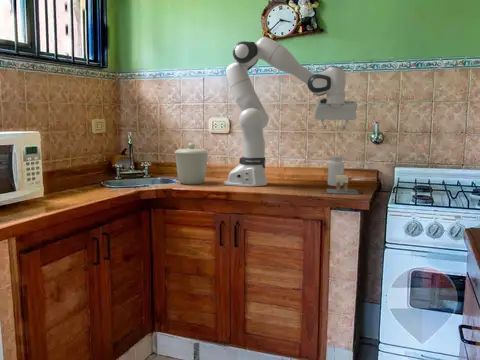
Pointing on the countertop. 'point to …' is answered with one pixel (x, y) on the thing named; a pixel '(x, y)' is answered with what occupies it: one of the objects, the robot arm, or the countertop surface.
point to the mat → (342, 191)
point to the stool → (341, 180)
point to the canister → (191, 164)
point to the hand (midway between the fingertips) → (334, 129)
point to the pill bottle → (335, 170)
